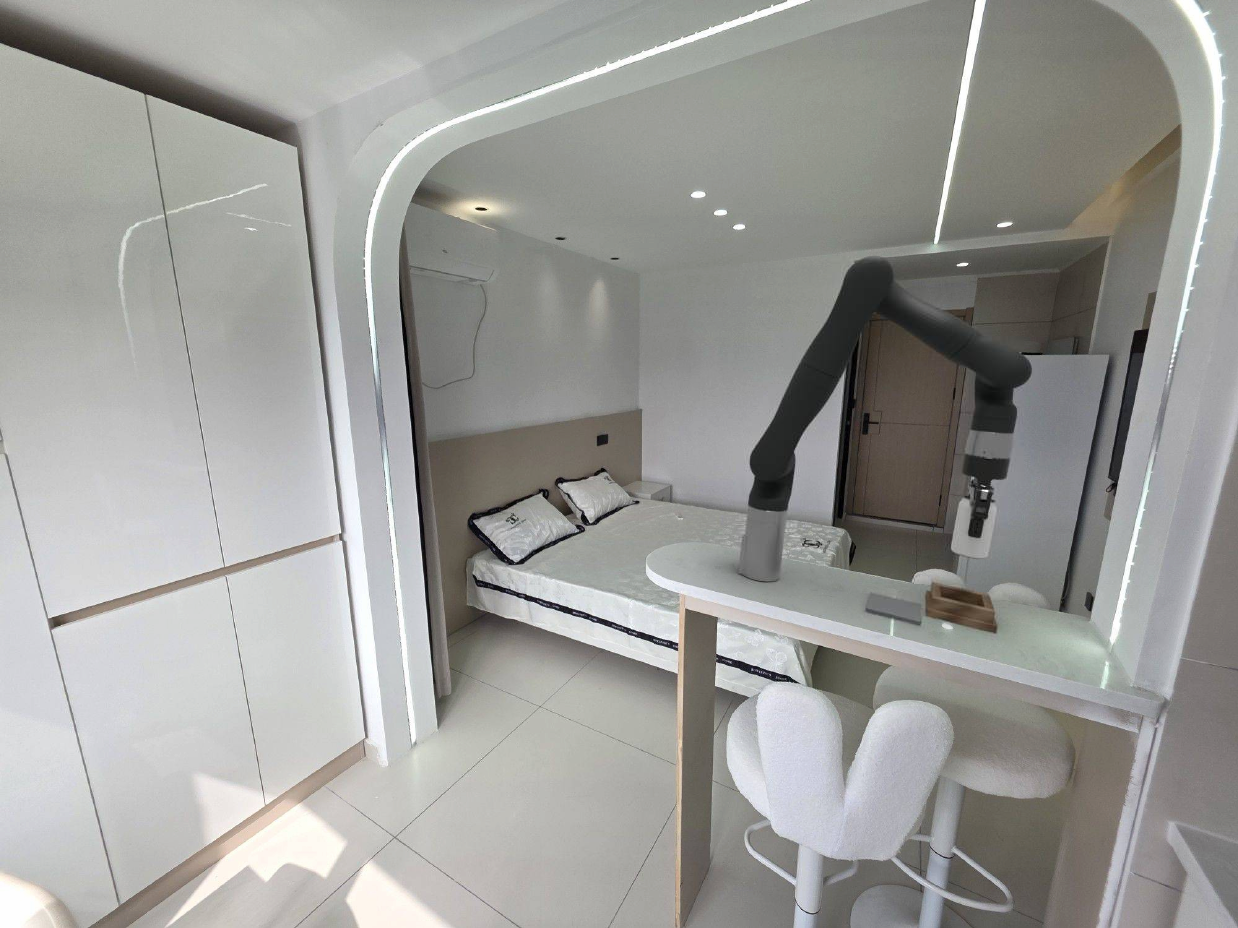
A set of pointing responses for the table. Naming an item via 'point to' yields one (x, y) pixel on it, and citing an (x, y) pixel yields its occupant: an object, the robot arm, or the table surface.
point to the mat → (894, 608)
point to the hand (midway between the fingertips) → (972, 532)
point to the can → (961, 540)
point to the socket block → (961, 607)
